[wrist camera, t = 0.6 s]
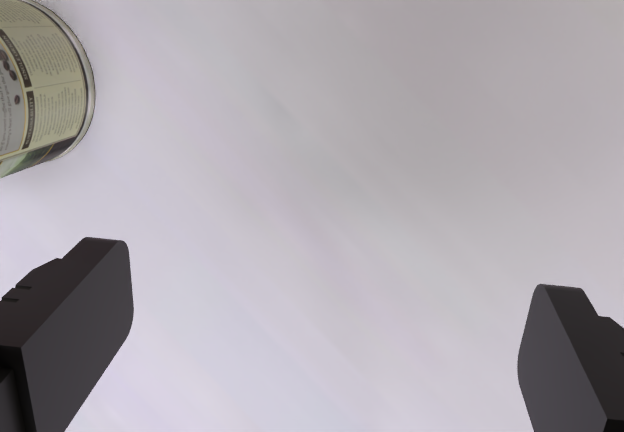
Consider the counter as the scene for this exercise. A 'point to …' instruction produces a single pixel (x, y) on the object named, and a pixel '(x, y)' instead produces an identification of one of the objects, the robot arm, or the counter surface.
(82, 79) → the coffee can
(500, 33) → the counter surface
